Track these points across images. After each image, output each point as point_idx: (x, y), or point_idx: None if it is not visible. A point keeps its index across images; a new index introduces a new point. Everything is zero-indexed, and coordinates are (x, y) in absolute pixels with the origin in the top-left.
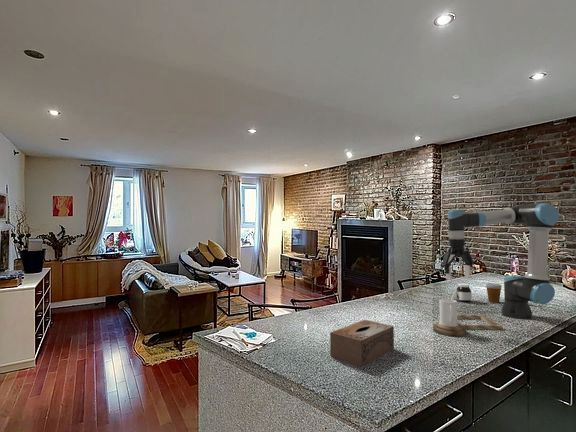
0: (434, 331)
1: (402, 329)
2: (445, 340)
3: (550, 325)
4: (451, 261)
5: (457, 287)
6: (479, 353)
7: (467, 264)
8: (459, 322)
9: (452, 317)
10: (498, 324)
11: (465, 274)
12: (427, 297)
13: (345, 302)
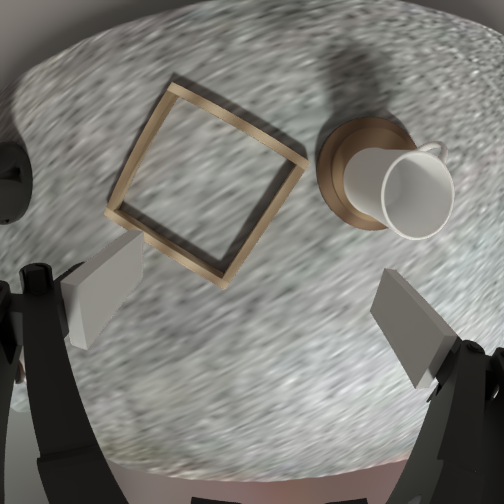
0: None
1: (452, 271)
2: (449, 136)
3: (29, 73)
4: (468, 395)
5: (17, 383)
6: (451, 39)
7: (61, 326)
8: (280, 190)
9: (430, 142)
10: (170, 96)
11: (132, 286)
12: (89, 418)
13: (323, 475)
